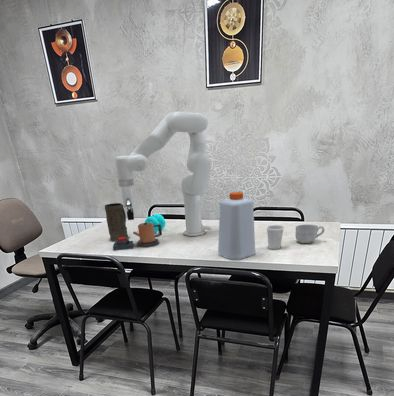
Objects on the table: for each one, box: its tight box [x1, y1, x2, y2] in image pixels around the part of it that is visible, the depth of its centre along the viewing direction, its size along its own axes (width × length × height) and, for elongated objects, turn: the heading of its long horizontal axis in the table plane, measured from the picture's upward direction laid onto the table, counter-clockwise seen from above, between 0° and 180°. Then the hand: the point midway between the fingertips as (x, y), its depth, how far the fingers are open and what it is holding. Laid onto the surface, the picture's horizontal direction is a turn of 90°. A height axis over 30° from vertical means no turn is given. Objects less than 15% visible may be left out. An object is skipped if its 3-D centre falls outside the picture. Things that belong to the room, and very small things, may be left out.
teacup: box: [295, 223, 325, 244], centre depth 174 cm, size 14×11×8 cm
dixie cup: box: [266, 224, 285, 250], centre depth 169 cm, size 8×8×10 cm
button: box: [118, 237, 126, 242], centre depth 186 cm, size 4×4×2 cm
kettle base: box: [137, 237, 160, 248], centre depth 190 cm, size 12×12×2 cm
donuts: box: [144, 213, 166, 234], centre depth 210 cm, size 10×10×10 cm
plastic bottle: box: [217, 191, 256, 261], centre depth 159 cm, size 15×15×28 cm
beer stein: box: [104, 202, 129, 242], centre depth 201 cm, size 15×11×20 cm
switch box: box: [112, 238, 134, 251], centre depth 187 cm, size 10×8×4 cm
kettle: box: [132, 222, 163, 243], centre depth 187 cm, size 17×8×10 cm, turn 126°
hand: (130, 217), depth 182 cm, fingers open, 9 cm apart
